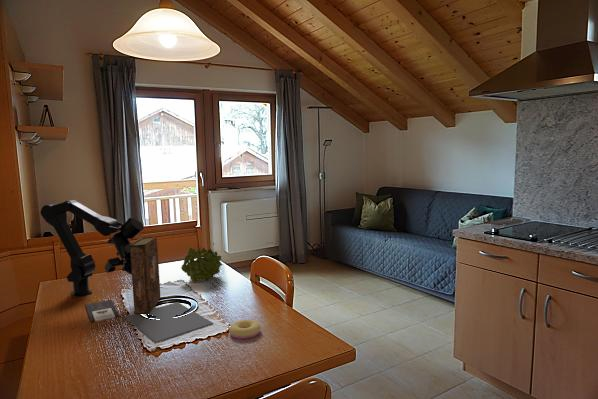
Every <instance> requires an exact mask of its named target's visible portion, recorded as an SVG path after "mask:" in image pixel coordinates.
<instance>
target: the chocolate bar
mask: <svg viewBox="0 0 598 399" xmlns="http://www.w3.org/2000/svg"><path fill="white" fill-rule="evenodd" d="M85 309H86V313H87V315H88V318H89V322H90V323H96V322H101V321H104V320H109V319H110V320H111V319H115V318H119V317H120V314H119V312H118V311H117V308H116V307H115V305H114V302H113V301H112V299H108V300H103V301H102V300H101V301H97V302H91V303H87V304H85Z"/></svg>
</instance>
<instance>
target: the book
mask: <svg viewBox="0 0 598 399" xmlns="http://www.w3.org/2000/svg"><path fill="white" fill-rule="evenodd" d="M131 243H132V244H130V256H131V271H132V275H131V279H132V281H131V282H132V298H133V310H134V311H133V314H138V315H140V314H148V313H150V312H151V311H152V309H154V308H156V307H155V306H157V304H158V303H159V302H160V300H159V299H161V283H160V280H161V279H160V266H159V250H158V249H159V248H158V239H157V236H153V237H143V236H141V237H139V238H138V239H136V240H135V241H133V242H131Z"/></svg>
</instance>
